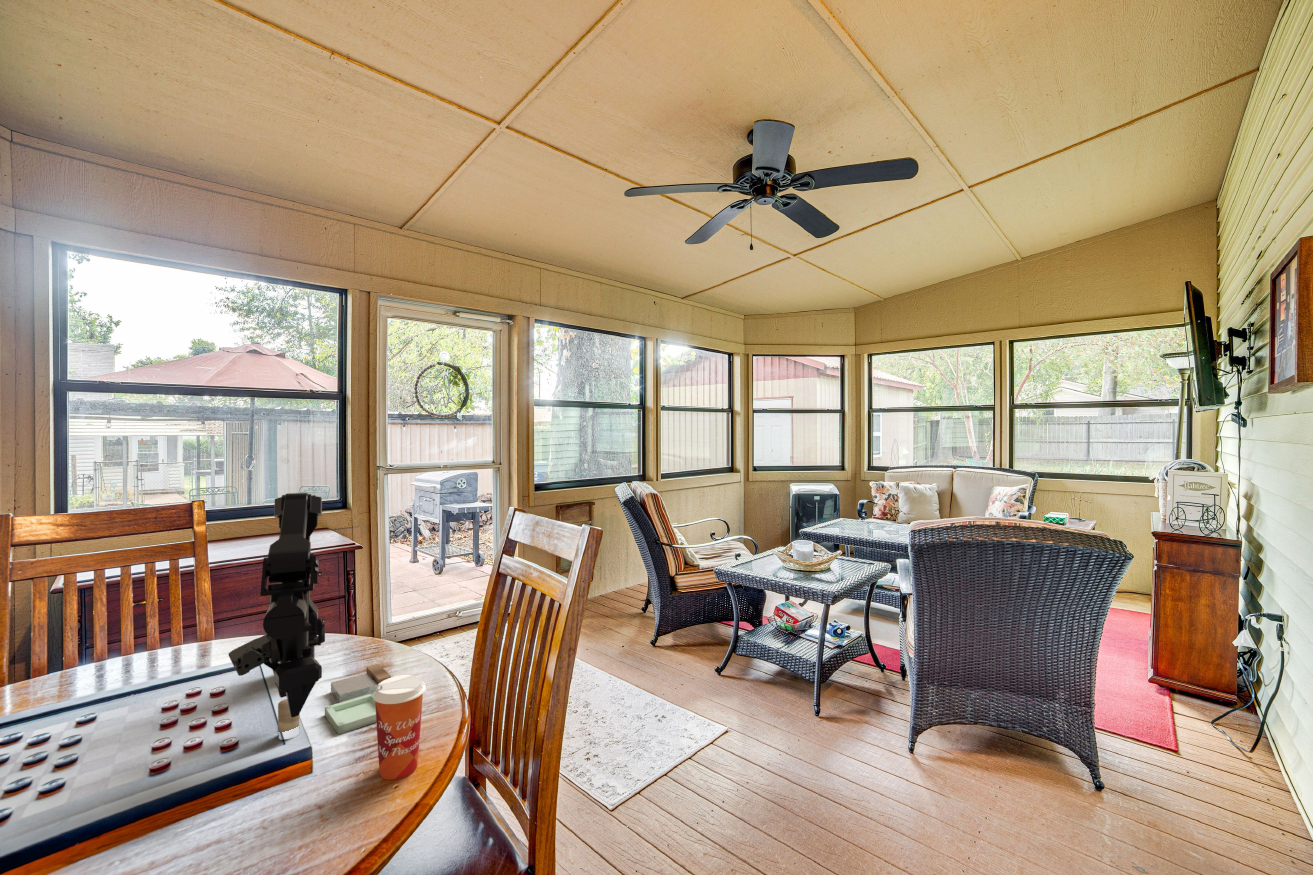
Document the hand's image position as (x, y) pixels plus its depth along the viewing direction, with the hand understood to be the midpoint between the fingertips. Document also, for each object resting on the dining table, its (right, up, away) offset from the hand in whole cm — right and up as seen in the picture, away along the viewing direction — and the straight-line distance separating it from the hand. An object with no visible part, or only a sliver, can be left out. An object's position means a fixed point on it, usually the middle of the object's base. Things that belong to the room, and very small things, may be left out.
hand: (289, 706), depth 100 cm
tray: (+9, -5, +7) cm, 12 cm away
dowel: (0, -5, 0) cm, 5 cm away
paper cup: (+24, -6, -9) cm, 26 cm away
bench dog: (+6, -5, +19) cm, 21 cm away
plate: (+3, -5, +16) cm, 17 cm away
